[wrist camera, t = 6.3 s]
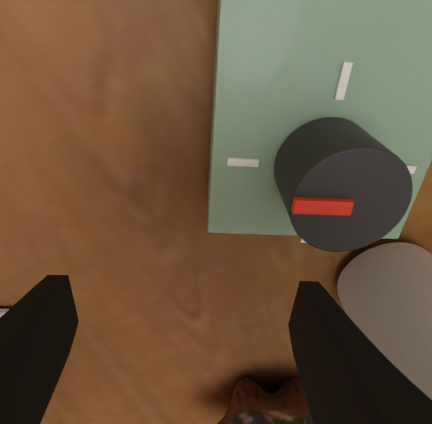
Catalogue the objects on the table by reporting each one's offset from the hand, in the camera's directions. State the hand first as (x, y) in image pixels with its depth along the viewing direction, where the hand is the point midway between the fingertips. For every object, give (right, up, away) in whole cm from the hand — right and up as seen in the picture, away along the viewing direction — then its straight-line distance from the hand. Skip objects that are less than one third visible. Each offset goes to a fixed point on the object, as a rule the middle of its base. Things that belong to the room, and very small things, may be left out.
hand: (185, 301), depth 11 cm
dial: (+6, +5, +4) cm, 9 cm away
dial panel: (+6, +8, +6) cm, 12 cm away
